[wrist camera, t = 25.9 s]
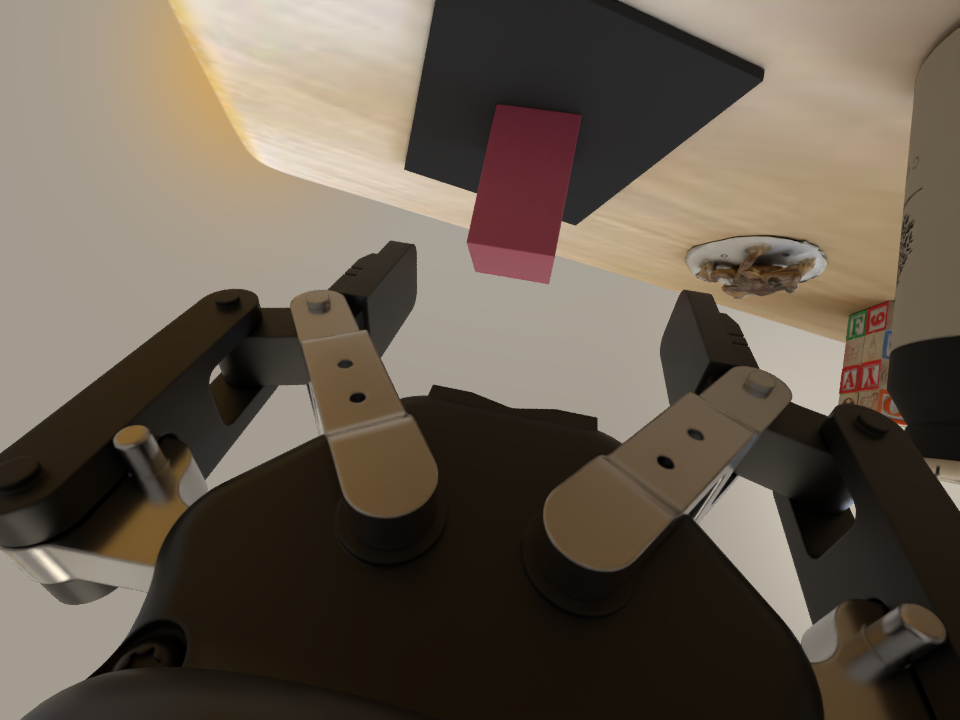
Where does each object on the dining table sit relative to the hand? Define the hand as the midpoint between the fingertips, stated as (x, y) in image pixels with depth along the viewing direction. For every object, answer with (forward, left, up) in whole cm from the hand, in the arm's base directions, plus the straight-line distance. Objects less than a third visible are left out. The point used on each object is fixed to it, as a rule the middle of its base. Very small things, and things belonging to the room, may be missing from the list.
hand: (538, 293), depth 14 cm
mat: (+14, +3, -15) cm, 21 cm away
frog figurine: (+21, +28, -15) cm, 38 cm away
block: (+14, +3, -15) cm, 20 cm away
